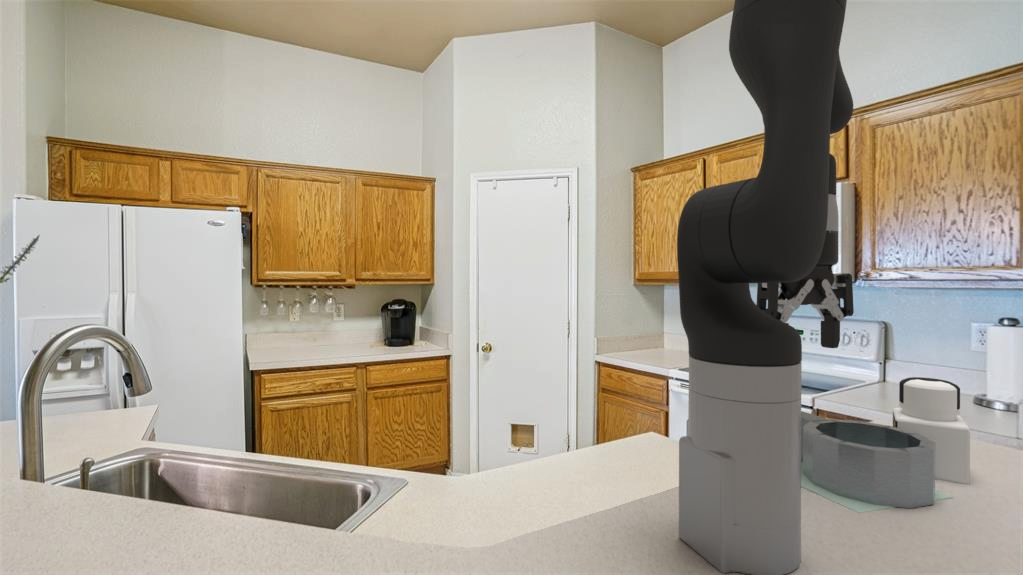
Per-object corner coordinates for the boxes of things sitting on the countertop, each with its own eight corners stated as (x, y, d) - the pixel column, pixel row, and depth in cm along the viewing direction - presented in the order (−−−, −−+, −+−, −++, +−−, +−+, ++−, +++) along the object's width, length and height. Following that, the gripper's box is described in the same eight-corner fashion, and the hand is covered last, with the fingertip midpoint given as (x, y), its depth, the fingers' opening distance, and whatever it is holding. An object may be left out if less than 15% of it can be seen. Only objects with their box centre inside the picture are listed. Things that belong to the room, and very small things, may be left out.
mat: (858, 516, 51) (858, 512, 51) (741, 460, 67) (741, 457, 67) (953, 500, 55) (953, 496, 55) (820, 450, 71) (820, 447, 71)
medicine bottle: (892, 456, 69) (892, 372, 69) (960, 468, 64) (961, 378, 64) (895, 472, 63) (895, 380, 63) (970, 486, 59) (971, 387, 59)
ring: (878, 513, 51) (878, 456, 51) (752, 456, 68) (753, 413, 68) (962, 499, 54) (962, 445, 54) (823, 448, 71) (823, 407, 71)
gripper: (785, 226, 61) (785, 355, 61) (871, 229, 65) (871, 350, 65) (742, 232, 68) (742, 347, 68) (822, 235, 72) (822, 343, 72)
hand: (805, 348), depth 67 cm, fingers open, 8 cm apart
